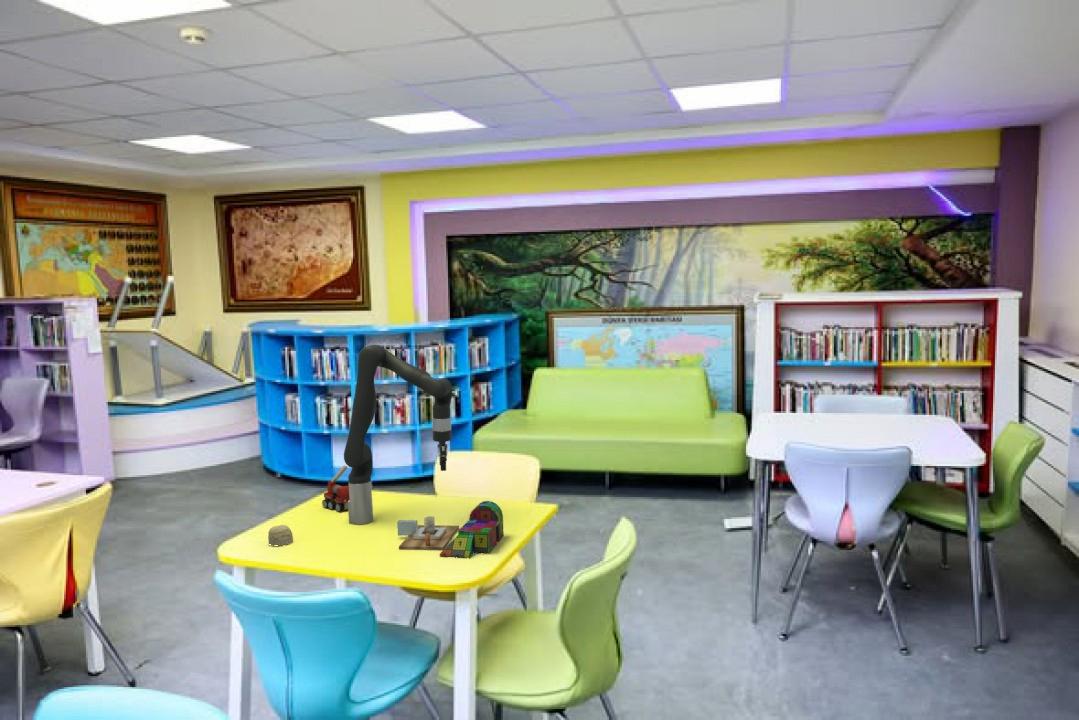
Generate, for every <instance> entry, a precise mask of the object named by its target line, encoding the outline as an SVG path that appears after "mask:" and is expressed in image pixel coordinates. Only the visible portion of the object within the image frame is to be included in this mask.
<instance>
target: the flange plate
mask: <svg viewBox="0 0 1079 720" xmlns="http://www.w3.org/2000/svg"><path fill="white" fill-rule="evenodd" d="M396 523H397V524H396V525H397V527H396V528H397V536H400V537H401V536H403V537H404V536H406V537H408V536H413V539H425V534H424V533H425V530H424V527H421V528H420V529H419V530H418V525H419V523H418V519H398V520H397V521H396ZM445 532H446V528H435V533H436V534H430V539H434V540H440V538H441V537H442V536H443V534H444V533H445Z"/></svg>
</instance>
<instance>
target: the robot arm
mask: <svg viewBox="0 0 1079 720" xmlns="http://www.w3.org/2000/svg"><path fill="white" fill-rule="evenodd" d="M357 360H358V361H357V375H356V377H357V379H356V385H355V390H354V391H355V392H354V397H353V402H352V410H351V417H350V424H349V429H348V434H347V435H348V436H347V439H346V443H345V448H344V451H343V460H344V463H345V465H346V466H347V467H349V468H351V469H350V470H351V471H349V472H350V473H349V475H348V477H347V479H348V480H347V481H348V486H349V499H350V500H349V501H348V509H347V510H348V511H347V512H348V523H349V524H352V525H367V524H370V523H372V522H374V513H373V512H374V510H373V508H374V507H373V492H372V491H373V490H372V489H373V488H372V474H373V453H372V448H371V447H370V445H369V444H368V443H366V441H365V440H366V437H367V433H368V430H369V429H370V427H371V424H372V423H373V420H374V418H375V416H376V415H375V414H376V409H377V403H378V400H377V391H376V388H375V377H376V371H377V368H378V367H381V368H383V369H386V370H390V371H391V372H393V373H395V374H396V375H397V376H398V377H400V378H401V379H402V380H404V381H405V382H407V383H408V384H411V385H412V386H415V387H417V388H419V389H421V390H423V392H425V393H426V394H427V395H429V396H432V397H434V398H435V402H434V403H433V406H432V425H431V426H432V440H433V442H438V444H437V445H436V447H437V453H438V459H439V466H440V472H443V471H444V472H445V471H447V460H448V459H447V457H448V444H447V443H446V442H450V441H451V440H452V420H451V403H452V396H453V395H452V394H453V387H452V386H453V385H452V383H451V382H450V380H448V379H446V378H439V379H437V378H434V377H432V375H431V374H430V373H429V372H428V371H426V370H423V369H422V368H420V367H417V366H415V365H413V364H411V363H408V362H407V361H404V360H403V359H401V358H400V357H398V356H397V355H394V354H393V353H392V352H391V351H389V350H388V349H386V348H384V347H383V346H381V345H380V344H371V345H366V346H363V348H362V349H361V350H360V351H359V354H358V357H357Z"/></svg>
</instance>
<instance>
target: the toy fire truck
mask: <svg viewBox="0 0 1079 720" xmlns="http://www.w3.org/2000/svg"><path fill="white" fill-rule="evenodd" d="M347 469H348V465H346V464H345V465H342V467H341V469H340V470H338V472H337V473H336V474H335V475H334V476H333V478H332V479H331V480H328V482H327V489H326V490H327V492H324V493H323V500H322V501H321V505H322V507H323V509H328V510H329V511H332V510H335V511H336V512H337V513H341V512H344V511H346V510H348V501H349V500H350V499H349V485H345V486H343V485H342V486H341V485H339V484H337V483H336V482H337V481H338V480H339V479H340V478H341V476H342V475H343V474H344V472H346V470H347Z"/></svg>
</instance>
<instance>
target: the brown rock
mask: <svg viewBox="0 0 1079 720" xmlns="http://www.w3.org/2000/svg"><path fill="white" fill-rule="evenodd" d="M267 539H268V545H269V544H271V545H278V546H277V547H281V546H280V545H286V546H288V545H287V544H289V545H291V544H293V543H294V536H293V532H292V530H291V528H290V527H289V526H288V525H285V524H280V525H274V526H272V527H270V528H269V531H268V537H267ZM292 542H293V543H292ZM290 543H291V544H290Z"/></svg>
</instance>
